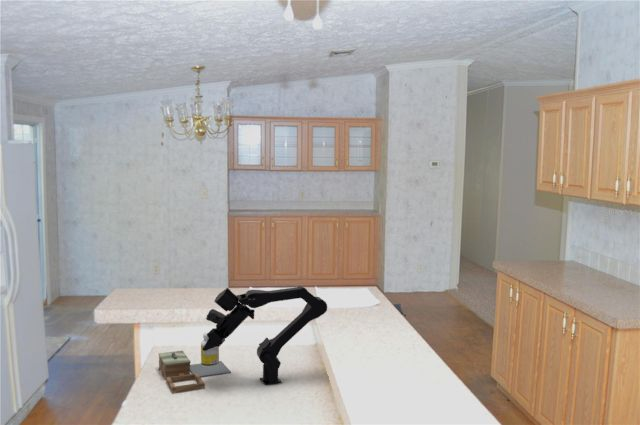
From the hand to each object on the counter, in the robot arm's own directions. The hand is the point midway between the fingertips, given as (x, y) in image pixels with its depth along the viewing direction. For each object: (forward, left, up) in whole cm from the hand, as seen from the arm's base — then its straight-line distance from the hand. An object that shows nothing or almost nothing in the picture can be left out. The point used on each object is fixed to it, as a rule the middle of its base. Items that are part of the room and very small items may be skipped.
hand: (206, 347), depth 201 cm
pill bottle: (-1, -1, -7) cm, 7 cm away
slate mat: (+12, -4, -13) cm, 18 cm away
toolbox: (+8, +8, -13) cm, 17 cm away
